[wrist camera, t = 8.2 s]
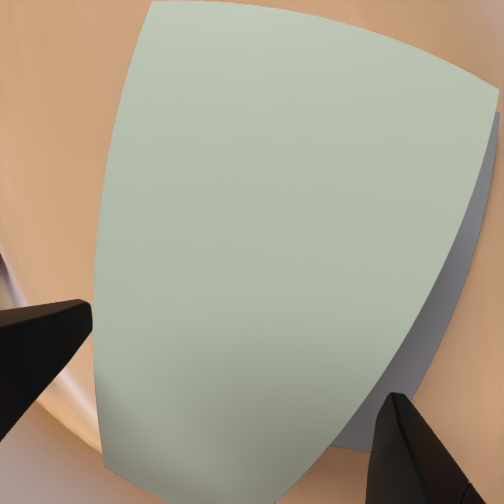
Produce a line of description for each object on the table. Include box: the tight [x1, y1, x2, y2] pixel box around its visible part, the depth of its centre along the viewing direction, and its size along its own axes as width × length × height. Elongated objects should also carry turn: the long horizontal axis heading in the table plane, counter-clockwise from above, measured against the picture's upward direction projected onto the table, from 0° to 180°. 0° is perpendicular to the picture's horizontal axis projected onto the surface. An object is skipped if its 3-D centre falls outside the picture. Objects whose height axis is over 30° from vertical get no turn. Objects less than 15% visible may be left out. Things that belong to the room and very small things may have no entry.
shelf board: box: [93, 1, 500, 504], centre depth 9 cm, size 6×16×4 cm, turn 163°
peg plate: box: [330, 111, 500, 452], centre depth 12 cm, size 16×18×4 cm
